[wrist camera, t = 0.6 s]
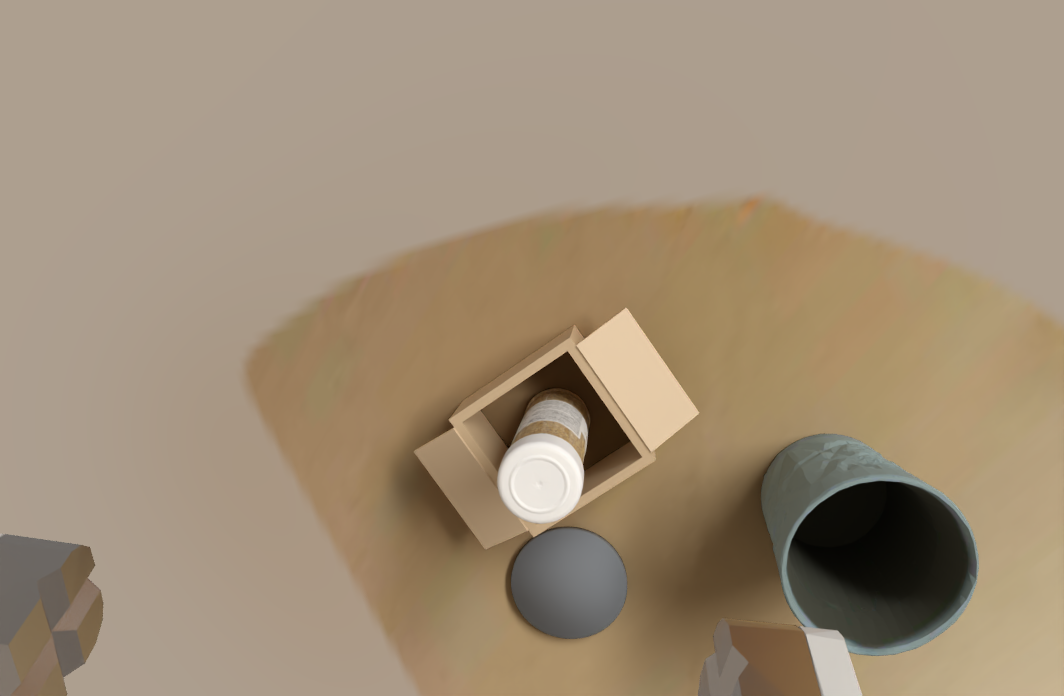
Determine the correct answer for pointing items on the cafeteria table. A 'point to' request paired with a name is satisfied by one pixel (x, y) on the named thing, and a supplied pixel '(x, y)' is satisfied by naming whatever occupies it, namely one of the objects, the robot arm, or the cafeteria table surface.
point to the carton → (621, 382)
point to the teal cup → (866, 546)
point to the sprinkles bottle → (546, 458)
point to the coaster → (569, 582)
